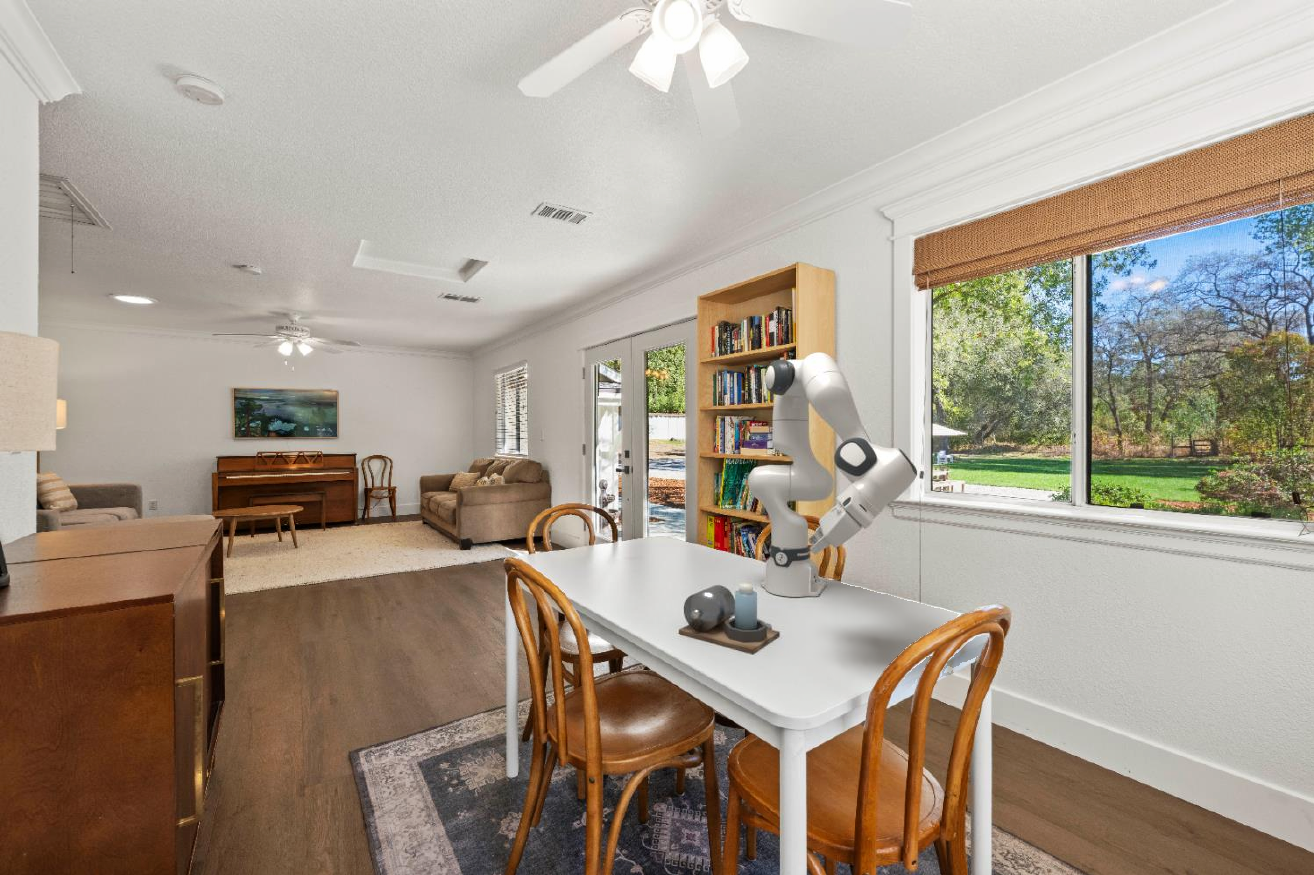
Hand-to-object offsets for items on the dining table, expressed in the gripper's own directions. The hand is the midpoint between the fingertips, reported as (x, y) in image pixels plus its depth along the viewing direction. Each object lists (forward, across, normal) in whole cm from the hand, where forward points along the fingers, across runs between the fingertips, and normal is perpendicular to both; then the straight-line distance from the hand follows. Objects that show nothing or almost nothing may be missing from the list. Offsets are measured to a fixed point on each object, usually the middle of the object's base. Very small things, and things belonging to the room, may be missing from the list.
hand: (811, 547), depth 130 cm
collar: (+26, +2, +5) cm, 27 cm away
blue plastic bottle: (+26, +2, +5) cm, 26 cm away
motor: (+32, -1, -2) cm, 33 cm away
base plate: (+29, 0, +2) cm, 29 cm away
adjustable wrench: (+30, -14, +4) cm, 33 cm away
